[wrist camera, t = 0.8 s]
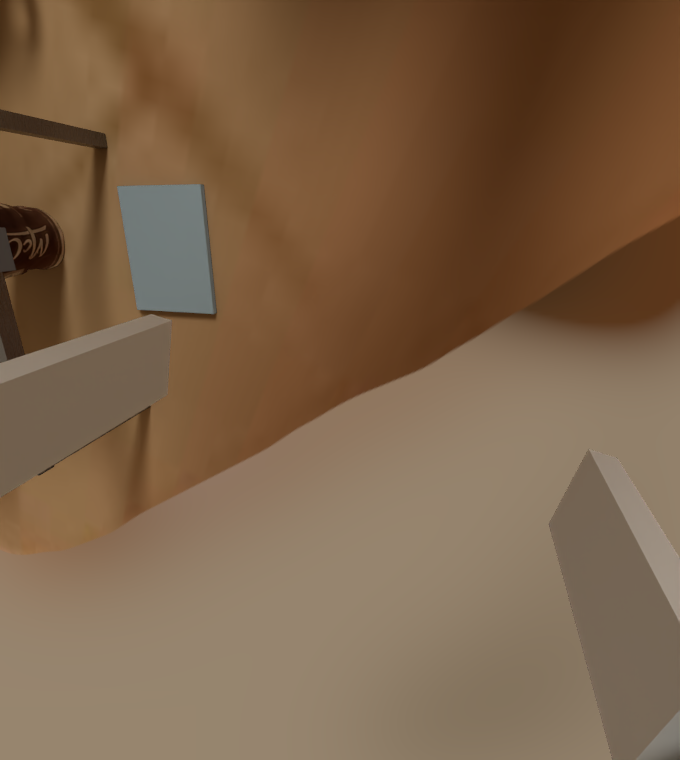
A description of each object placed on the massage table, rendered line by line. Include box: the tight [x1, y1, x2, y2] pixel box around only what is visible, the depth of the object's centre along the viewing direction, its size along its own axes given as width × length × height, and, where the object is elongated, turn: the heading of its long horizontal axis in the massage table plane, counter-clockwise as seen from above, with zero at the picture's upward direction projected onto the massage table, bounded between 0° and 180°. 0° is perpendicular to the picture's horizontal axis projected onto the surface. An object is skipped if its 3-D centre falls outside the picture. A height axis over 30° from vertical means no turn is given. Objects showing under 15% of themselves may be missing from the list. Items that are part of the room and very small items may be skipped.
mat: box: [117, 184, 217, 314], centre depth 44 cm, size 12×9×1 cm
